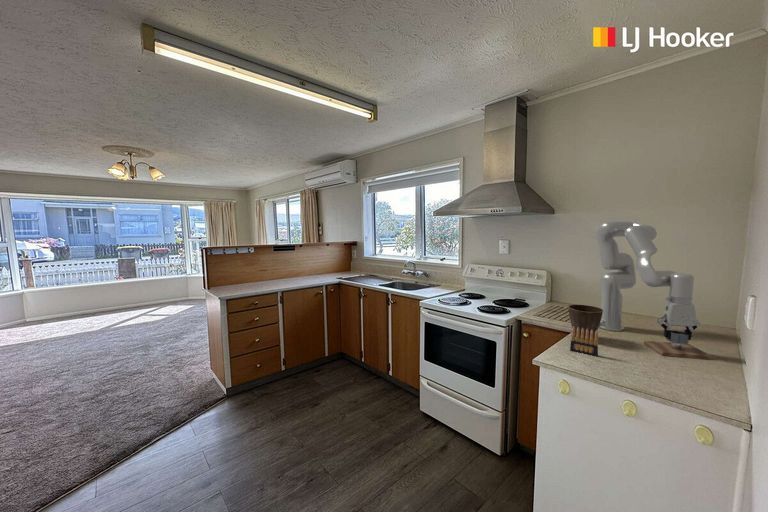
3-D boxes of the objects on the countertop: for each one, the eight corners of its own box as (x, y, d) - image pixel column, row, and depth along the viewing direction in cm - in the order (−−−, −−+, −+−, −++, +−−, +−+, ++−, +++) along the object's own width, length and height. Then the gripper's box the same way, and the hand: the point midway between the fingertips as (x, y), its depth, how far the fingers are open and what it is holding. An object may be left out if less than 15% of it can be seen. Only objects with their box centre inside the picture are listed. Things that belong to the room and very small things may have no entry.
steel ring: (673, 343, 137) (673, 334, 137) (663, 337, 144) (663, 329, 144) (691, 344, 136) (692, 335, 135) (680, 338, 142) (681, 330, 142)
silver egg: (673, 349, 139) (674, 336, 139) (668, 346, 143) (669, 334, 142) (683, 349, 138) (684, 337, 138) (677, 346, 142) (678, 334, 141)
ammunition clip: (597, 355, 137) (599, 329, 136) (597, 357, 136) (599, 331, 135) (570, 349, 144) (571, 325, 143) (569, 350, 143) (571, 326, 141)
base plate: (662, 355, 136) (662, 352, 136) (643, 343, 150) (644, 340, 149) (711, 359, 132) (711, 356, 132) (688, 346, 145) (688, 343, 145)
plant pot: (560, 335, 163) (561, 305, 161) (581, 331, 167) (582, 303, 165) (586, 345, 148) (588, 313, 147) (608, 341, 153) (610, 310, 151)
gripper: (662, 301, 137) (659, 340, 138) (710, 303, 132) (706, 343, 134) (652, 297, 144) (650, 334, 146) (697, 299, 140) (694, 337, 141)
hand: (677, 338), depth 140 cm, fingers closed on steel ring, 7 cm apart
